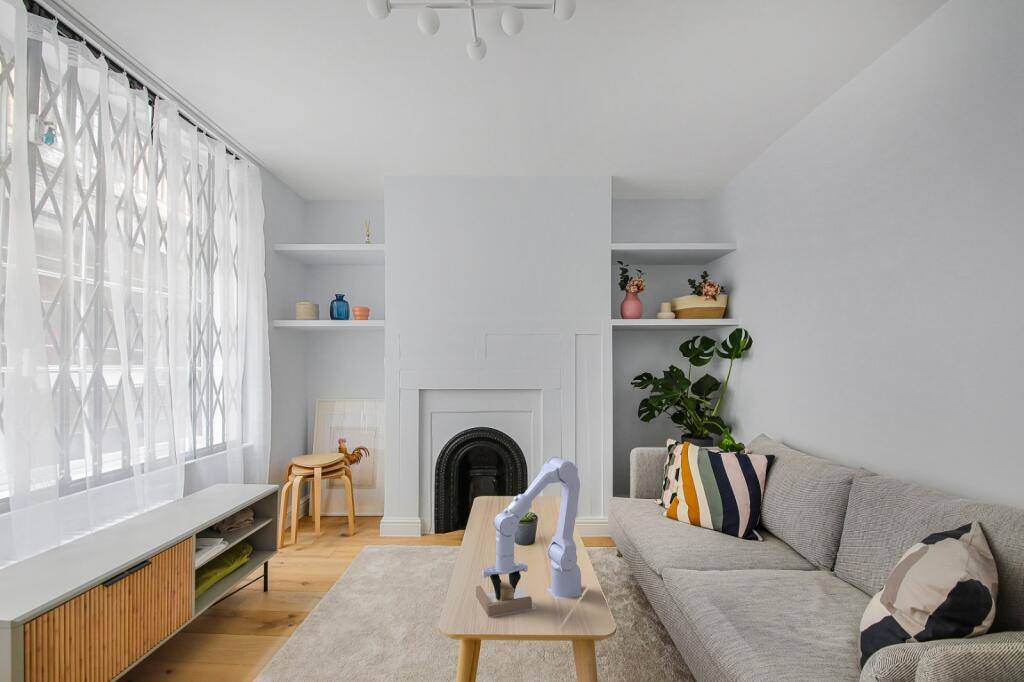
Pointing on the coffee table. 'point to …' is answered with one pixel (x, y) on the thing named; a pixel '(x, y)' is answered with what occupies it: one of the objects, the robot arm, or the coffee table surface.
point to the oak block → (506, 591)
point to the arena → (504, 603)
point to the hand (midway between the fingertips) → (504, 597)
